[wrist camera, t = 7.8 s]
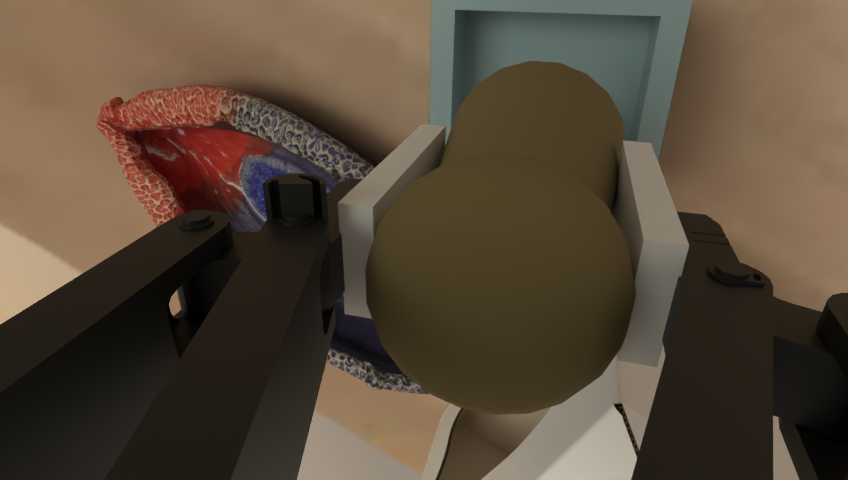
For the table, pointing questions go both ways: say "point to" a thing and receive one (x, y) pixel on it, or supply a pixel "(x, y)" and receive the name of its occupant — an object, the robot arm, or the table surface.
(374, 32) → the table surface
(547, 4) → the open box
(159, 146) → the dish
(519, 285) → the olive brown hourglass shape
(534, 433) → the gable box
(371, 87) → the table surface
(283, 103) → the table surface
